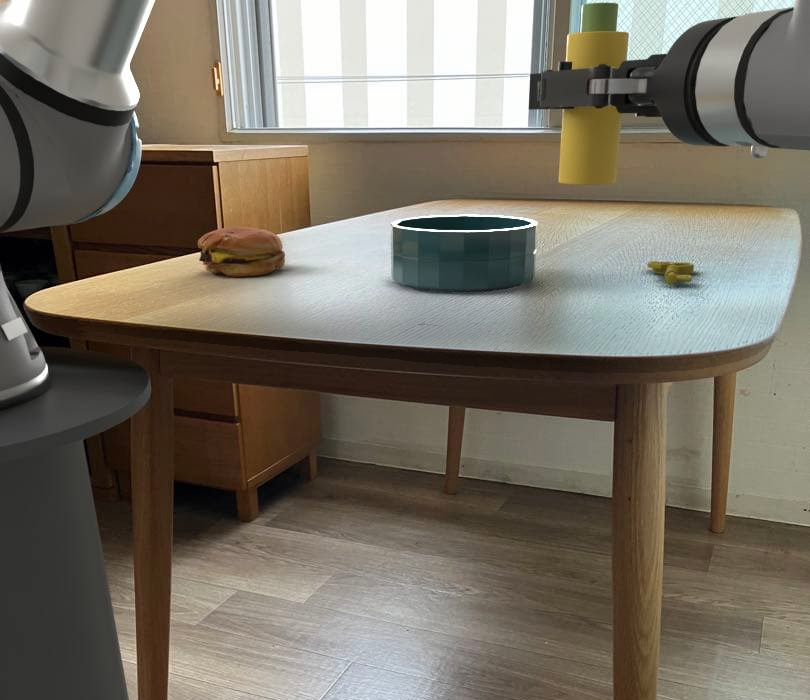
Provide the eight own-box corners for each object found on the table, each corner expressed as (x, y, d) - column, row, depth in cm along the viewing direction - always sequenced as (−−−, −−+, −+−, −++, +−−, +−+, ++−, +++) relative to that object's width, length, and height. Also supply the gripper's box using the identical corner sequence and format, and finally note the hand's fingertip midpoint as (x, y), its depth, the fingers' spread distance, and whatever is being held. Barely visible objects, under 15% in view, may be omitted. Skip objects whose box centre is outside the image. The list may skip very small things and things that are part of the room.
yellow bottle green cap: (549, 183, 74) (560, 3, 69) (570, 180, 78) (581, 9, 72) (605, 185, 72) (620, -1, 66) (623, 181, 76) (639, 5, 70)
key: (694, 274, 90) (643, 272, 91) (692, 287, 90) (642, 285, 91) (694, 259, 100) (648, 258, 101) (693, 271, 100) (647, 269, 102)
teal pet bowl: (365, 287, 93) (363, 226, 90) (433, 266, 105) (434, 213, 102) (497, 299, 86) (500, 234, 83) (555, 276, 98) (558, 218, 95)
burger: (283, 263, 108) (280, 222, 106) (287, 275, 100) (284, 232, 98) (201, 266, 107) (196, 225, 105) (198, 279, 98) (193, 235, 96)
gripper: (612, 149, 56) (466, 141, 75) (837, 144, 61) (646, 137, 81) (624, 11, 52) (468, 40, 72) (861, 18, 58) (655, 43, 78)
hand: (562, 91), depth 76 cm, fingers closed on yellow bottle green cap, 5 cm apart
